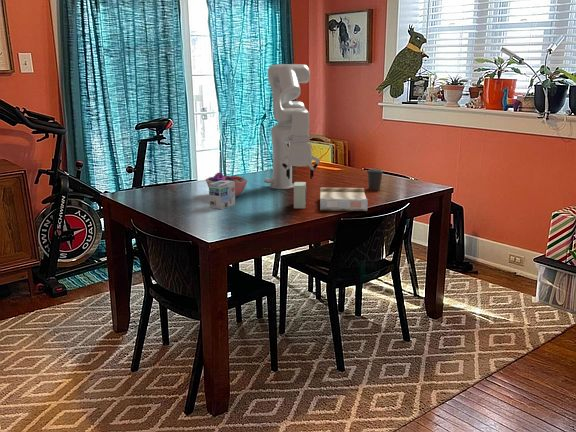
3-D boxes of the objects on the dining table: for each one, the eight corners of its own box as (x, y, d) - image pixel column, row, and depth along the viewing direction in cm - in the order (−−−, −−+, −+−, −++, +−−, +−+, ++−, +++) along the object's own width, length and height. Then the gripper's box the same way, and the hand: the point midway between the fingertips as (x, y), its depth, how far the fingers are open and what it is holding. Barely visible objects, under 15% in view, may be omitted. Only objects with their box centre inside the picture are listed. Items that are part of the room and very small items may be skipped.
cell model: (238, 202, 261) (237, 177, 258) (199, 198, 267) (198, 174, 264) (253, 194, 276) (253, 171, 273) (215, 191, 283) (215, 168, 280)
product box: (293, 208, 251) (293, 185, 248) (294, 203, 259) (294, 181, 256) (305, 208, 251) (306, 185, 248) (306, 203, 258) (306, 182, 256)
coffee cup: (372, 186, 293) (373, 167, 290) (385, 189, 287) (386, 169, 285) (362, 188, 287) (363, 169, 285) (375, 191, 282) (376, 171, 279)
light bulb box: (221, 209, 248) (220, 185, 245) (208, 207, 252) (208, 183, 249) (236, 204, 257) (235, 180, 254) (224, 202, 260) (223, 179, 258)
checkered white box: (320, 211, 246) (320, 198, 244) (320, 199, 267) (320, 187, 265) (367, 211, 245) (367, 199, 243) (363, 199, 266) (364, 188, 264)
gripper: (279, 140, 244) (279, 180, 248) (320, 140, 243) (319, 180, 247) (280, 138, 251) (280, 176, 255) (320, 138, 250) (319, 177, 254)
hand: (299, 178), depth 251 cm, fingers open, 9 cm apart
